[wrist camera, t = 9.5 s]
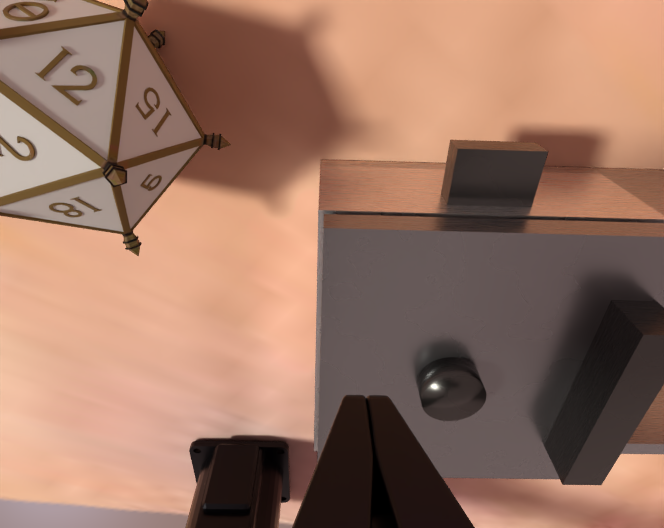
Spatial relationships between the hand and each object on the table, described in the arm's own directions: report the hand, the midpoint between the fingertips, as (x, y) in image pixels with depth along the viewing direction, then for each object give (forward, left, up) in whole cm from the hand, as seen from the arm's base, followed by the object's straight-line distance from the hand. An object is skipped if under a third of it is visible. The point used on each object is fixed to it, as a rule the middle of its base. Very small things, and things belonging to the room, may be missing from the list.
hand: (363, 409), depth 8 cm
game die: (+3, +9, -13) cm, 16 cm away
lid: (-6, -5, -8) cm, 11 cm away
